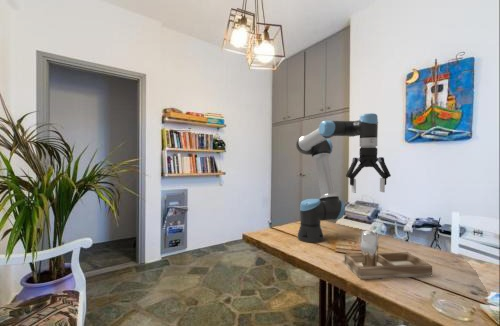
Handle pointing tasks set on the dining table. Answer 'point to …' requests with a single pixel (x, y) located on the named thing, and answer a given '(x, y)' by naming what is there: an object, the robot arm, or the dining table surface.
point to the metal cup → (369, 248)
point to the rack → (389, 266)
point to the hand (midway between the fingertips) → (367, 192)
